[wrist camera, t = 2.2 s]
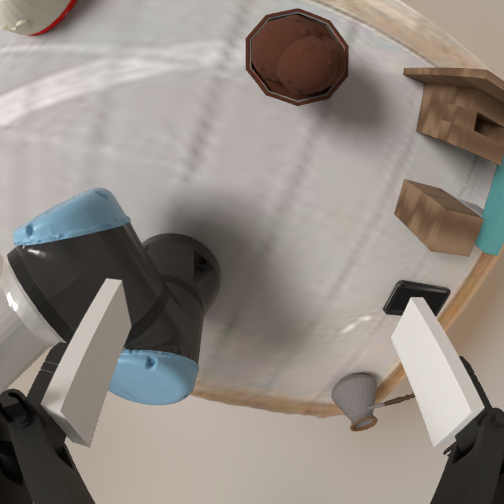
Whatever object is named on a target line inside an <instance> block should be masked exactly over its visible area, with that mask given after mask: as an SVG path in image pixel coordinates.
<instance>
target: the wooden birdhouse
mask: <svg viewBox="0 0 504 504" xmlns="http://www.w3.org/2000/svg"><path fill="white" fill-rule="evenodd" d="M403 74H404V75H406V76H409V77H411V78H414V79H416V80H419V81H421V82H424V83H425V85H424V92H423V98H422V103H421V109H420V114H419V119H418V124H417V129H416V131H418V132H420V133H423V134H426V135H429V136H432V137H435V138H437V139H440V140H443V141H445V142H448V143H450V144H453V145H455V146H458V147H460V148H463V149H465V150H467V151H470V152H472V153H474V154H477V155H479V156H481V157H483V158H486V159H488V160H490V161H492V162H494V163H496V164H498V165H500V166H501V163H502V159H503V155H504V81H502V80H501V79H500V78H498V77H497V76H495V75H494V74H492V73H491V72H489V71H488V70H482V69H467V68H404V73H403Z"/></svg>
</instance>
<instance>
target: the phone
mask: <svg viewBox="0 0 504 504" xmlns="http://www.w3.org/2000/svg"><path fill="white" fill-rule="evenodd" d="M449 295H450V290H449V289H448V288H445V287H440V286H434V285H428V284H422V283H416V282H410V281H405V280H401V281H399V282H398V283H397V284H396V286H395V287H394V289H393V291H392V293H391V295H390V297H389V299H388V301H387V302H386V304H385V306H384V308H383V310H384V312H385V313H386V314H390V315H400V316H402V315H403V313H404V311H405V309H406V307H407V304H408V302H409V300H410V298H411V297H423V298H424V300H425V301H426V303H427V304H428V306H429V307H430V309H431V311H432V312H433V314H434V315H435V317H436V316H437V315H438V313H439V311H440V310H441V308H442V306H443V305H444V303H445V302H446V300H447V298H448V297H449Z"/></svg>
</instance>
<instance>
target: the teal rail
mask: <svg viewBox="0 0 504 504" xmlns="http://www.w3.org/2000/svg"><path fill="white" fill-rule="evenodd" d="M481 217H482V218H483V219H484V221H483V224H482V226H481V229H480V231H479V234H478V237H477V239H476V242H475V245H476V246H478V247H479V248H480V249H481V250H482V251H483V252H484V253H486V254H492V255H498V254H499V252H500V250H501V247H502V245H503V243H504V155H503V159H502V163H501V166H500V165H498V164H497V168H496V172H495V175H494V179H493V182H492V186H491V189H490V192H489V195H488V198H487V201H486V204H485V207H484V210H483V213H482V216H481Z"/></svg>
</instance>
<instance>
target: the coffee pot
mask: <svg viewBox="0 0 504 504" xmlns="http://www.w3.org/2000/svg"><path fill="white" fill-rule="evenodd" d="M376 387H377V383H376V381H375V379H374V378H372V377H371V376H369V375H366V374H362V373H354V374H350V375H347V376H346V377H344V378H342V379H341V380H340V381H339V382H338V384H337V385H336V386H335V387H334V389H333V391H332V399H333V401H334V402H335V403H336V405H337V406H338V407H339V408H340V409H341V410H342V411H343V412H344V414H345V415H346V416H347V417H348V418H349V419H350V420H351V421H352V425H351V427H350V429H351V430H352V431H362V430H365V429H368V428H371V427H373V426H374V425H375V424H376V423H377V418H376V417H374V416H373V409H375V408H378V407H382V406H387V405H391V404H396V403H400V402H402V401H404V400H409V399H410V398H414V397H415V395H414V392H413V394H411V395H406V396H405V397H398V398H395V399H392V400H389V401H386V402H384V403H380V404H376V405H374V402H375V395H376Z"/></svg>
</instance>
